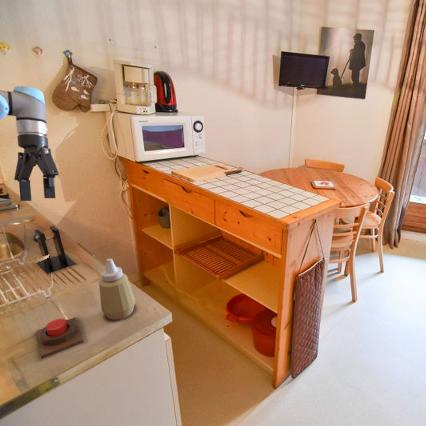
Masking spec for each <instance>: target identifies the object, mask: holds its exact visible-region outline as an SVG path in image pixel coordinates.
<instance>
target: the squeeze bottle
mask: <svg viewBox="0 0 426 426" xmlns="http://www.w3.org/2000/svg"><path fill="white" fill-rule="evenodd" d="M98 286H99V297H100V308H101V311H102V313H103V314H104V315H105V317H107V318H108V320H112V321H118V320H122V319H125V318H127V317H129V316H130V315H131V314H133V311H134V308H135V304H136V298H135V296H134V292H133V289H132V286H131V283H130V280H129V277H128V275H127V274H126V273H123V269H122V267H120V266H116V264H115V263H114V260H113V258H112V257H111V258H110V257H109V258H107V259H106V262H105V269H104V270H102V271H101V278H100V280H99V281H98Z"/></svg>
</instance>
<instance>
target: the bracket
mask: <svg viewBox="0 0 426 426" xmlns="http://www.w3.org/2000/svg"><path fill="white" fill-rule="evenodd" d="M49 230H52V232H53V235H54V237H53V238H52V240H53V243H54V247H55V251H56V254H57V255H56V256H53V257H51V256H49V258H47V259H45V260H43V259H42V260H40V261H41V262H40V261H37V262H38V263H37V262H35V264H36V265H37V266H38V267H39V268H40V269H41V270H42V271H43V272H44V273H45V274H46V275H49V274H52V273H55V272H58V271H60V270H63V269H66V268H67V269H68V268H69V267H72V266H75V265H77V263H76V262H74V261H73V260H72V259H71V258H70V257H69V256H67V255H66V252H65V248H64V244H63V241H62V238H61V233H60V229H58V228H57V227H56V226H54V225H50V226H49ZM33 231H34V235H36V236H35V237H36V240H37V241H38V243H37V244H38V247H39V248H38V249H39V250H40V251H39V252H40V255H41V257H42V256H46V255H48V254H49V255H50V252H49V249H48V245H47V241H45V238H44V235H43V233H42V231H41V230H39V229H35V230H33Z"/></svg>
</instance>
